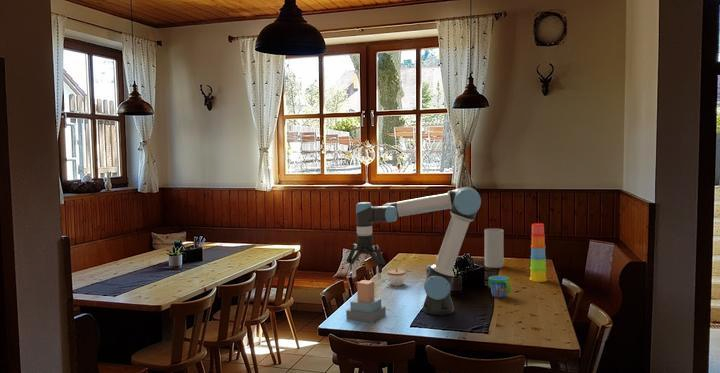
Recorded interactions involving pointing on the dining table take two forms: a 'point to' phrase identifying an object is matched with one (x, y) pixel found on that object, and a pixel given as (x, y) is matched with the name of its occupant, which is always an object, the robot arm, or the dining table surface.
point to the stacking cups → (538, 254)
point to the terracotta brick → (365, 291)
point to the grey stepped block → (365, 310)
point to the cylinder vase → (494, 248)
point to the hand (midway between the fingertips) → (366, 278)
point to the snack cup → (499, 285)
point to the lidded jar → (396, 277)
